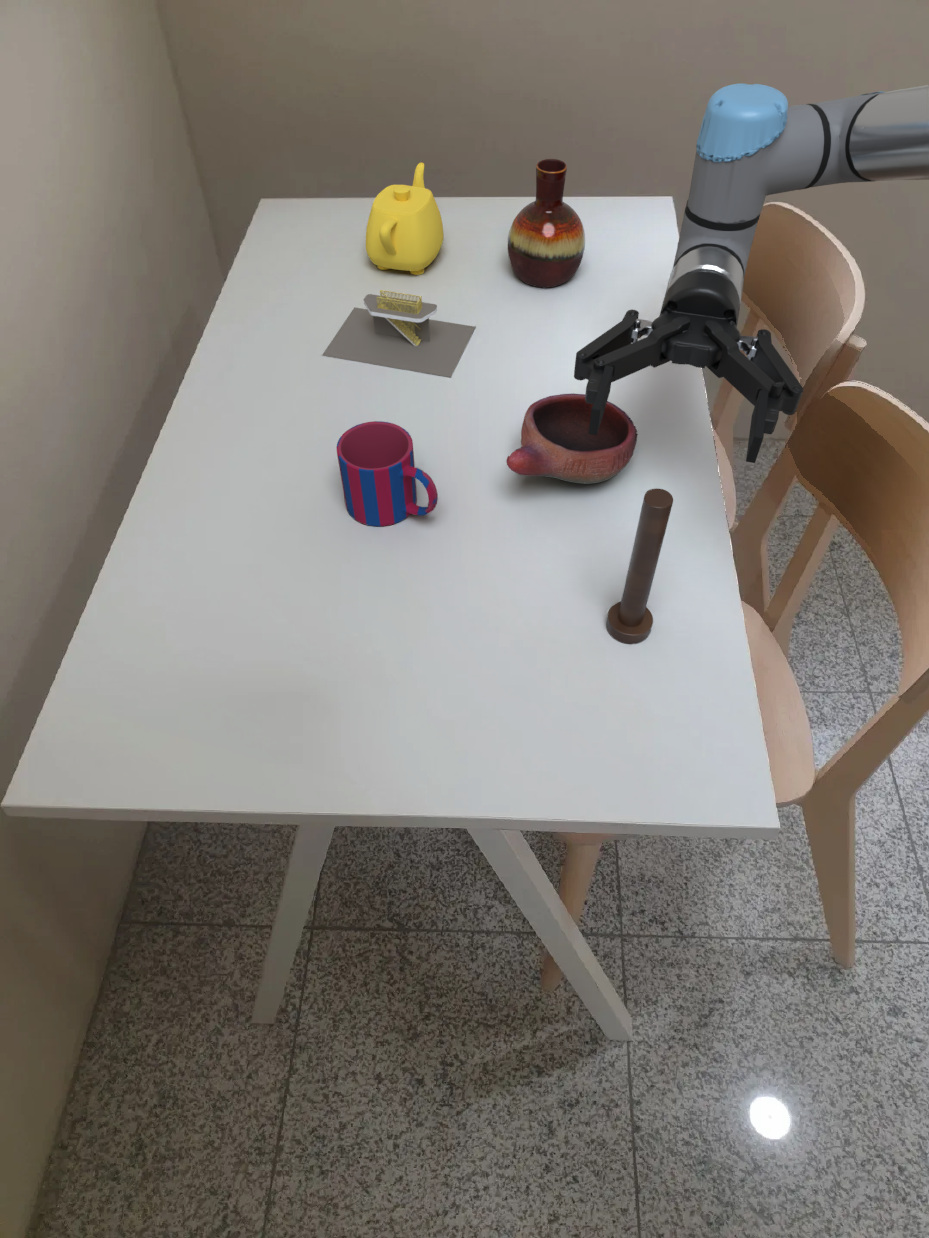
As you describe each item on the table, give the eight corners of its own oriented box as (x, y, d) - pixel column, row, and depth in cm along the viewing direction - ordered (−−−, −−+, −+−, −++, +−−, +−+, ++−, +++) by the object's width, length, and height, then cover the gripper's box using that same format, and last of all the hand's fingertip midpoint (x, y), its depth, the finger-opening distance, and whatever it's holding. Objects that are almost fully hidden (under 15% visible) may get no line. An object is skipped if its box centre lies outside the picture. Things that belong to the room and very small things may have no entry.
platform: (450, 377, 109) (449, 332, 104) (322, 355, 112) (314, 310, 107) (475, 326, 116) (475, 282, 111) (354, 307, 119) (348, 263, 114)
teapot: (393, 225, 134) (387, 154, 125) (459, 234, 132) (458, 162, 123) (352, 283, 123) (343, 210, 115) (423, 294, 121) (420, 220, 113)
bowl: (535, 422, 103) (539, 367, 97) (639, 443, 100) (650, 387, 94) (498, 510, 94) (500, 455, 87) (611, 535, 91) (621, 480, 85)
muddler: (654, 615, 84) (689, 485, 70) (646, 648, 82) (681, 521, 68) (610, 605, 85) (637, 475, 71) (602, 638, 82) (627, 510, 69)
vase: (503, 256, 127) (506, 148, 115) (576, 253, 128) (586, 146, 116) (510, 296, 121) (514, 186, 108) (586, 293, 121) (599, 183, 109)
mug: (383, 467, 98) (377, 411, 92) (456, 518, 93) (455, 461, 86) (331, 502, 95) (320, 446, 88) (403, 556, 89) (398, 501, 83)
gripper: (818, 356, 85) (810, 495, 72) (575, 319, 89) (528, 444, 77) (843, 287, 79) (840, 425, 66) (582, 251, 83) (532, 375, 71)
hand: (672, 436), depth 71 cm, fingers open, 13 cm apart
